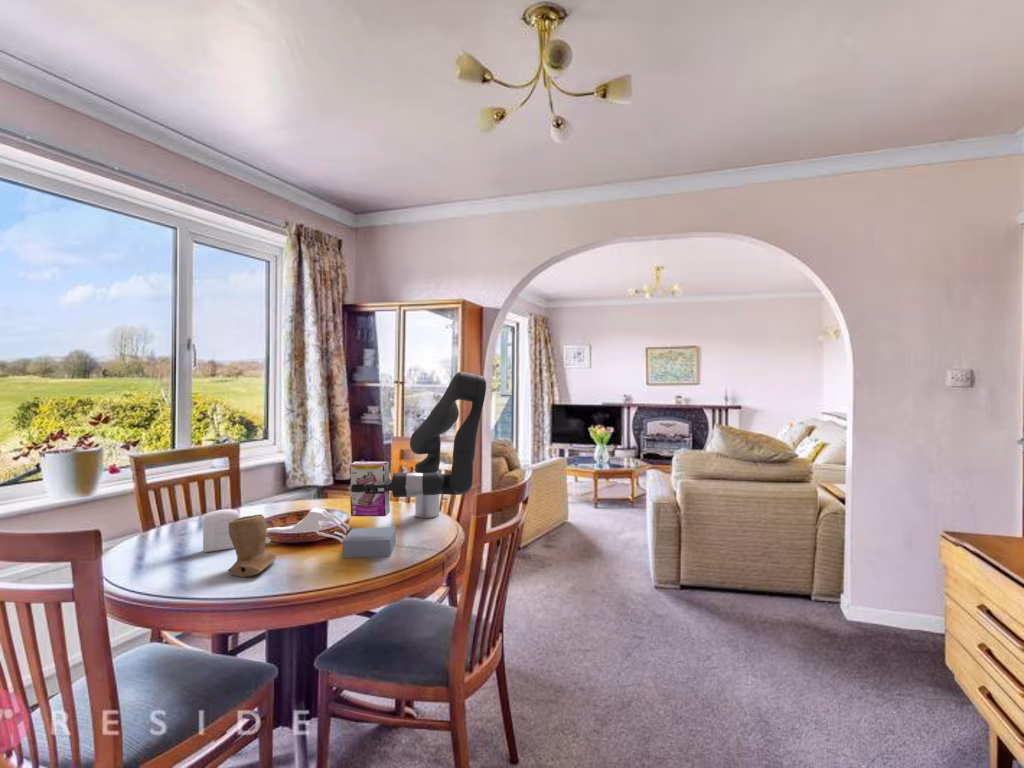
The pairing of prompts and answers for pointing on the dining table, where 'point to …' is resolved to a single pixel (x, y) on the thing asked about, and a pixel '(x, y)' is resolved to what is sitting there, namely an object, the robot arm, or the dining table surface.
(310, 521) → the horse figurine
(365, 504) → the candy bar box
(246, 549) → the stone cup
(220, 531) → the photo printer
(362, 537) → the slate block
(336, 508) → the dining table surface
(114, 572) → the dining table surface
